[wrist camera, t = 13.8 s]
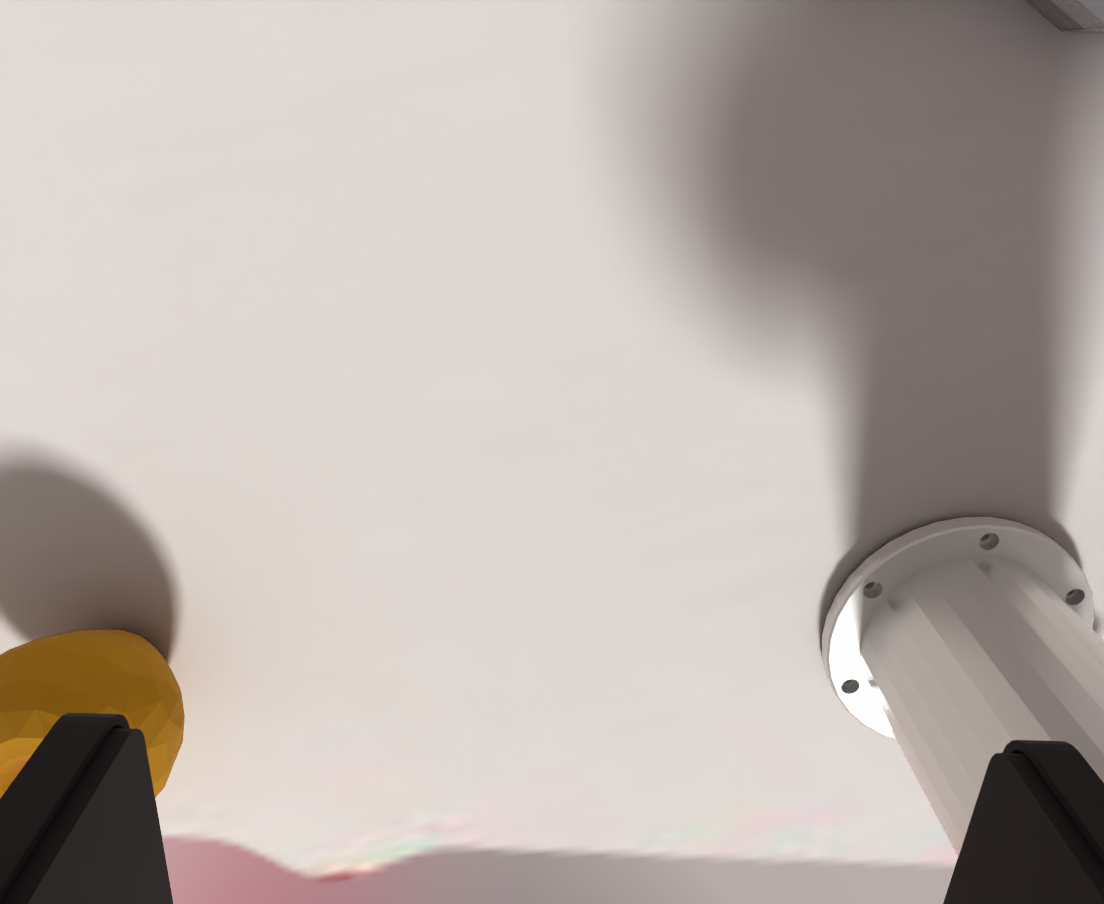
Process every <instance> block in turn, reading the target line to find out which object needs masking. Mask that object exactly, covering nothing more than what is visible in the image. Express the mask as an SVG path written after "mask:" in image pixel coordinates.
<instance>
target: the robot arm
mask: <svg viewBox="0 0 1104 904" xmlns="http://www.w3.org/2000/svg"><path fill="white" fill-rule="evenodd" d="M1094 615H1095V614H1094V605H1093V596H1092V592H1091V589H1090V587H1089V584H1088V581H1087V579H1086V576H1085V574H1084V573H1083V571H1082V570H1081V569H1080V567H1079V566H1078V564H1077V563H1076V562H1075V560H1074V559H1073V558H1072V557H1071V556H1070V555H1069V554H1068V553H1067V552H1066V551H1065V550H1064V549H1063V548H1062V547H1061V546H1060V545H1059V544H1057V543H1056V542H1055V541H1054V540H1052V539H1051V538H1049V537H1048V536H1046V535H1045V534H1043V533H1042V532H1040V531H1039V530H1037V529H1034V528H1032V527H1029V526H1027V525H1024V524H1021V523H1019V522H1016V521H1011V520H1006V519H1000V518H994V517H962V518H956V519H950V520H944V521H938V522H935V523H932V524H929V525H926V526H923V527H920V528H918V529H915V530H912V531H910V532H908V533H906V534H904V535H902V536H900V537H898V538H896V539H894V540H892V541H891V542H889V543H887V544H886V545H884V546H883V547H882V548H880V549H879V550H878V551H876V552H875V553H873V554H872V555H871V556H869V557H868V558H867V559H866V560H865V561H864V562H863V563H862V564H861V565H860V566H859V567H858V568H857V569H856V570H855V571H854V572H853V573H852V574H851V575H850V576H849V577H848V579H847V580H846V582H845V583H844V584H843V586H842V587H841V589H840V590H839V592H838V593H837V595H836V596H835V598H834V600H833V603H832V605H831V607H830V610H829V612H828V614H827V616H826V620H825V625H824V630H823V635H822V659H823V662H824V666H825V670H826V674H827V677H828V679H829V681H830V684H831V686H832V688H833V690H834V692H835V694H836V696H837V697H838V699H839V700H840V701H841V703H842V704H843V706H844V707H845V708H846V710H847V711H848V712H849V713H850V714H851V715H852V716H853V717H855V718H856V719H857V720H858V721H859V722H860V723H862V724H863V725H864V726H866V727H868V728H870V729H872V730H873V731H875V732H877V733H879V734H881V735H884V736H887V737H890V738H893V739H896V740H897V742H898V744H899V746H900V748H901V750H902V751H903V753H904V755H905V757H906V759H907V761H908V763H909V765H910V767H911V768H912V770H913V772H914V774H915V776H916V778H917V780H918V782H919V784H920V785H921V787H922V789H923V791H924V793H925V795H926V797H927V799H928V801H929V802H930V804H931V806H932V808H933V810H934V812H935V814H936V816H937V818H938V819H939V821H940V823H941V825H942V827H943V829H944V831H945V833H946V835H947V836H948V838H949V840H950V842H951V844H952V846H953V848H954V850H955V851H956V853H957V855H958V860H957V863H956V866H955V869H954V872H953V875H952V878H951V882H950V885H949V888H948V891H947V894H946V897H945V900H944V903H943V904H1104V640H1103V639H1102V638H1101V637H1100V636H1099V635H1098V634H1097V633H1096V632H1095V631H1094V630H1093V623H1094ZM0 904H173V900H172V895H171V888H170V882H169V877H168V871H167V866H166V860H165V853H164V848H163V842H162V836H161V830H160V824H159V818H158V813H157V807H156V801H155V795H154V789H153V784H152V778H151V772H150V766H149V760H148V755H147V749H146V743H145V738H144V734H143V732H142V731H141V730H140V729H131V728H130V727H129V724H128V720H127V719H126V718H125V716H124V715H120V714H96V713H67V714H64V715H62V716H61V717H60V718H59V719H58V720H57V721H56V723H55V724H54V725H53V727H52V728H51V729H50V731H49V732H48V734H47V735H46V736H45V738H44V739H43V740H42V742H41V743H40V745H39V746H38V747H37V749H36V750H35V751H34V753H33V754H32V756H31V757H30V758H29V760H28V761H27V762H26V764H25V765H24V767H23V768H22V769H21V771H20V772H19V774H18V775H17V776H16V778H15V779H14V780H13V782H12V783H11V785H10V786H9V787H8V789H7V790H6V791H5V793H4V794H3V796H2V797H1V798H0Z"/></svg>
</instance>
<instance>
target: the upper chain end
mask: <svg viewBox="0 0 1104 904" xmlns="http://www.w3.org/2000/svg"><path fill="white" fill-rule="evenodd" d="M1051 1H1052V2H1054V3H1055V4H1056V5H1057V6H1058V7H1059V8H1060V9H1062V10H1063V11H1064V12H1065V13H1066V14H1067V15H1069V16H1070V17H1071V18H1072V19H1073V20H1074V21H1076V22H1077V23H1078V24H1079V25H1080V26H1081V27H1083V29H1085V30H1104V0H1051Z"/></svg>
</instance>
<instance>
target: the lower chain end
mask: <svg viewBox="0 0 1104 904" xmlns="http://www.w3.org/2000/svg"><path fill="white" fill-rule="evenodd" d="M1026 1H1027V2H1029V3H1030V4H1031V5H1032V6H1033V7H1034V8H1036V9H1037V10H1038V11H1039V12H1040V13H1041V14H1043V15H1044V16H1045V17H1046V18H1047V19H1048V20H1050V21H1051V22H1052V23H1053V24H1054V25H1056V26H1057V27H1058V28H1059V29H1060V30H1061V31H1080V32H1097V33H1104V30H1085V29H1083V27H1081V26H1080V25H1079V24H1078V23H1077V22H1076V21H1074V20H1073V19H1072V18H1071V17H1070V16H1069V15H1067V14H1066V13H1065V12H1064V11H1063V10H1062V9H1060V8H1059V7H1058V6H1057V5H1056V4H1055V3H1054V2H1052V1H1051V0H1026Z"/></svg>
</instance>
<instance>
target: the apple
mask: <svg viewBox="0 0 1104 904" xmlns="http://www.w3.org/2000/svg"><path fill="white" fill-rule="evenodd" d="M67 713H96V714H120V715H124V716H125V718H126V719H127V720H128V724H129V727H130V728H131V729H140V730H141V731H142V732H143V734H144V738H145V743H146V749H147V755H148V760H149V766H150V772H151V778H152V784H153V789H154V795H155V797H156V796H157V795H158V794H159V793H160V792H161V790H162V789H163V788H164V787H165V784H166V782H167V779H168V777H169V774H170V772H171V769H172V767H173V764H174V762H175V759H176V757H177V754H178V752H179V749H180V747H181V744H182V742H183V730H184V710H183V702H182V695H181V691H180V688H179V685H178V683H177V681H176V679H175V677H174V675H173V673H172V671H171V669H170V667H169V666H168V664H167V662H166V661H165V659H164V658H163V656H162V655H161V654H160V652H159V651H158V650H157V649H156V648H155V646H153V645H152V644H151V643H150V642H148V641H147V640H146V639H145V638H143V637H142V636H141V635H137V634H134V633H131V632H127V631H124V630H115V629H100V630H85V631H75V632H68V633H64V634H59V635H55V636H50V637H45V638H41V639H37V640H34V641H31V642H29V643H26V644H23V645H21V646H18V647H15V648H13V649H10V650H8V651H6V652H4V653H3V654H1V655H0V798H1V797H2V796H3V794H4V793H5V791H6V790H7V789H8V787H9V786H10V785H11V783H12V782H13V780H14V779H15V778H16V776H17V775H18V774H19V772H20V771H21V769H22V768H23V767H24V765H25V764H26V762H27V761H28V760H29V758H30V757H31V756H32V754H33V753H34V751H35V750H36V749H37V747H38V746H39V745H40V743H41V742H42V740H43V739H44V738H45V736H46V735H47V734H48V732H49V731H50V729H51V728H52V727H53V725H54V724H55V723H56V721H57V720H58V719H59V718H60V717H61V716H62V715H64V714H67Z"/></svg>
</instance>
